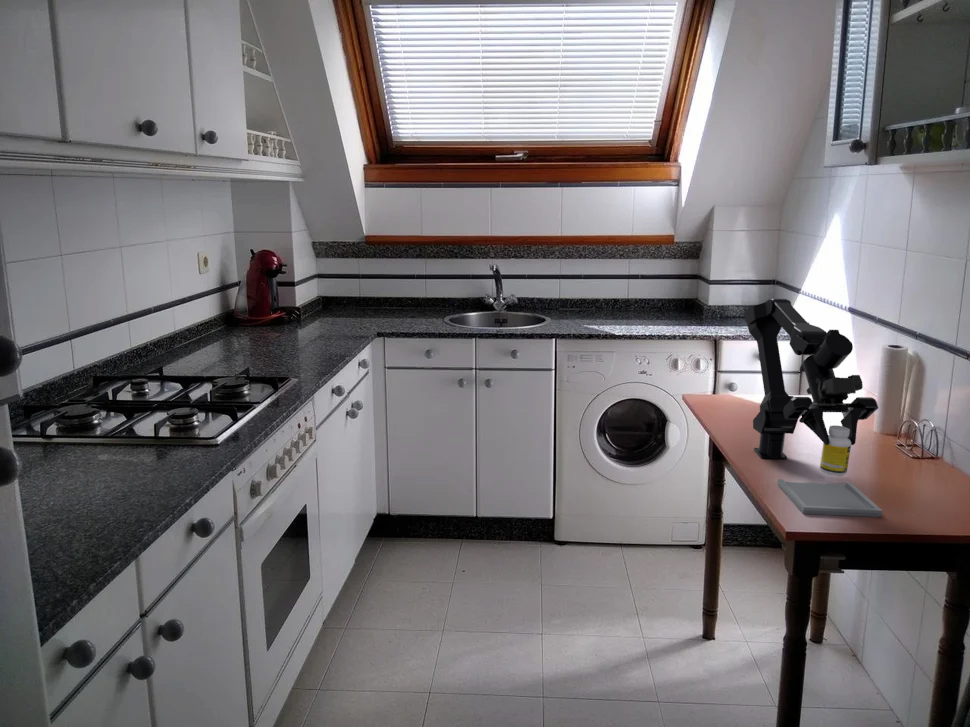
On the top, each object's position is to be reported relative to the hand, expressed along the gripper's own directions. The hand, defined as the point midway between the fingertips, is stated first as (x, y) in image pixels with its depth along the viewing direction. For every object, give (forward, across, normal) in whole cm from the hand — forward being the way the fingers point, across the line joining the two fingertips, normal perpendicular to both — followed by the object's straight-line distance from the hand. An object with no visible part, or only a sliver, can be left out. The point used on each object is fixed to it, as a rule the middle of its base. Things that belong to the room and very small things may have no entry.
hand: (840, 444), depth 167 cm
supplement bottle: (+4, 0, +6) cm, 7 cm away
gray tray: (+8, 0, +10) cm, 13 cm away
